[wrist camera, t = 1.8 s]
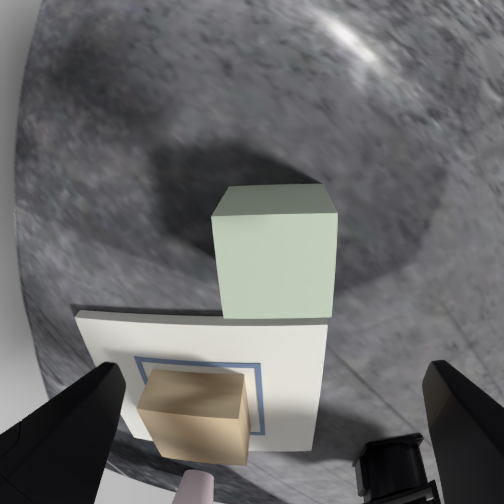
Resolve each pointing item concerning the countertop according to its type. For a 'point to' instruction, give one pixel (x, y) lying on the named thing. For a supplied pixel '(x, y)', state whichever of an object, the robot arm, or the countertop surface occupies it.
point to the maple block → (197, 416)
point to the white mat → (221, 365)
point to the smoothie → (195, 488)
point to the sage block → (275, 251)
